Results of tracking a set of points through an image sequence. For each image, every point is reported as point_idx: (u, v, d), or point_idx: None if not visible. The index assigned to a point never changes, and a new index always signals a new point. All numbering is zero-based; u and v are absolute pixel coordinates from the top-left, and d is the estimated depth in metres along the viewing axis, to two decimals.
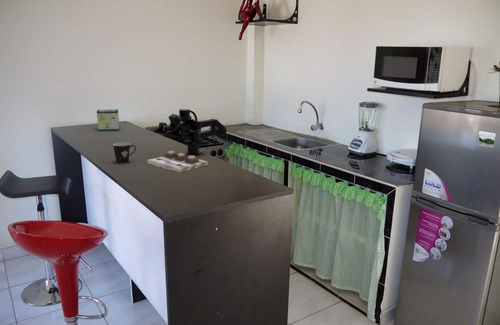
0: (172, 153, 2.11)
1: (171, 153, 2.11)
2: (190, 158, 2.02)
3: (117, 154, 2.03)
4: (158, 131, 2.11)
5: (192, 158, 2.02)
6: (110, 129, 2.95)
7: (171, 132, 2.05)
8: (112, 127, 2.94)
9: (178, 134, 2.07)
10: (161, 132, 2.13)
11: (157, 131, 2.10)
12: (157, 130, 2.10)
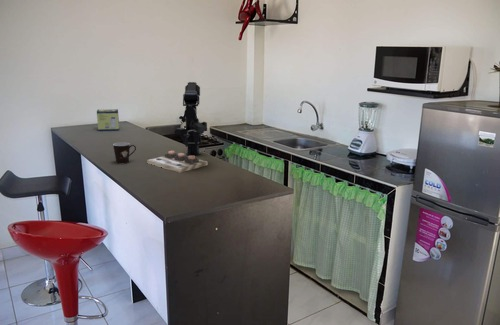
0: (172, 153, 2.11)
1: (171, 153, 2.11)
2: (190, 158, 2.02)
3: (117, 154, 2.03)
4: None
5: (192, 158, 2.02)
6: (110, 129, 2.95)
7: None
8: (112, 127, 2.94)
9: None
10: None
11: None
12: None
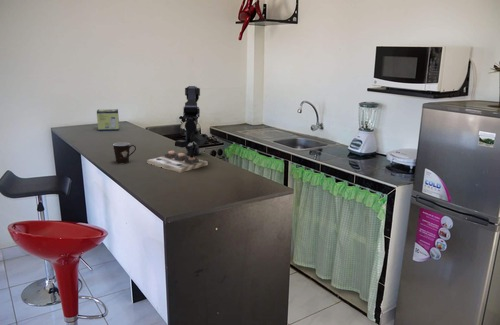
0: (172, 153, 2.11)
1: (171, 153, 2.11)
2: (190, 159, 2.02)
3: (117, 154, 2.03)
4: None
5: (192, 159, 2.02)
6: (110, 129, 2.95)
7: None
8: (112, 127, 2.94)
9: None
10: None
11: None
12: None
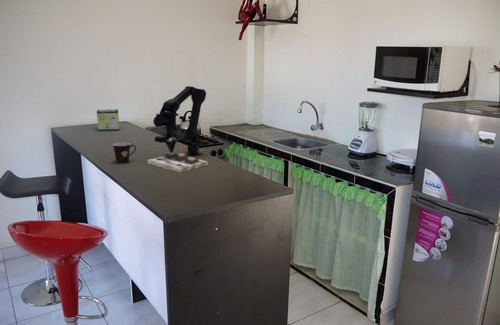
0: (172, 154, 2.11)
1: (171, 154, 2.11)
2: None
3: (117, 154, 2.03)
4: None
5: None
6: (110, 129, 2.95)
7: None
8: (112, 127, 2.94)
9: None
10: None
11: None
12: None
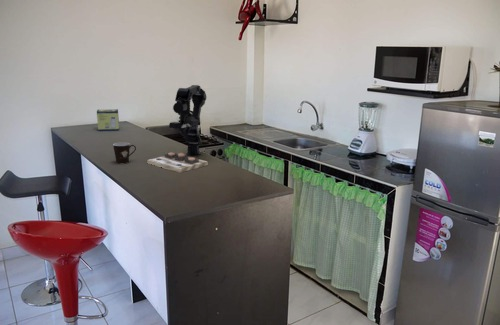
0: None
1: None
2: None
3: (117, 154, 2.03)
4: None
5: None
6: (110, 129, 2.95)
7: None
8: (112, 127, 2.94)
9: None
10: None
11: None
12: None
